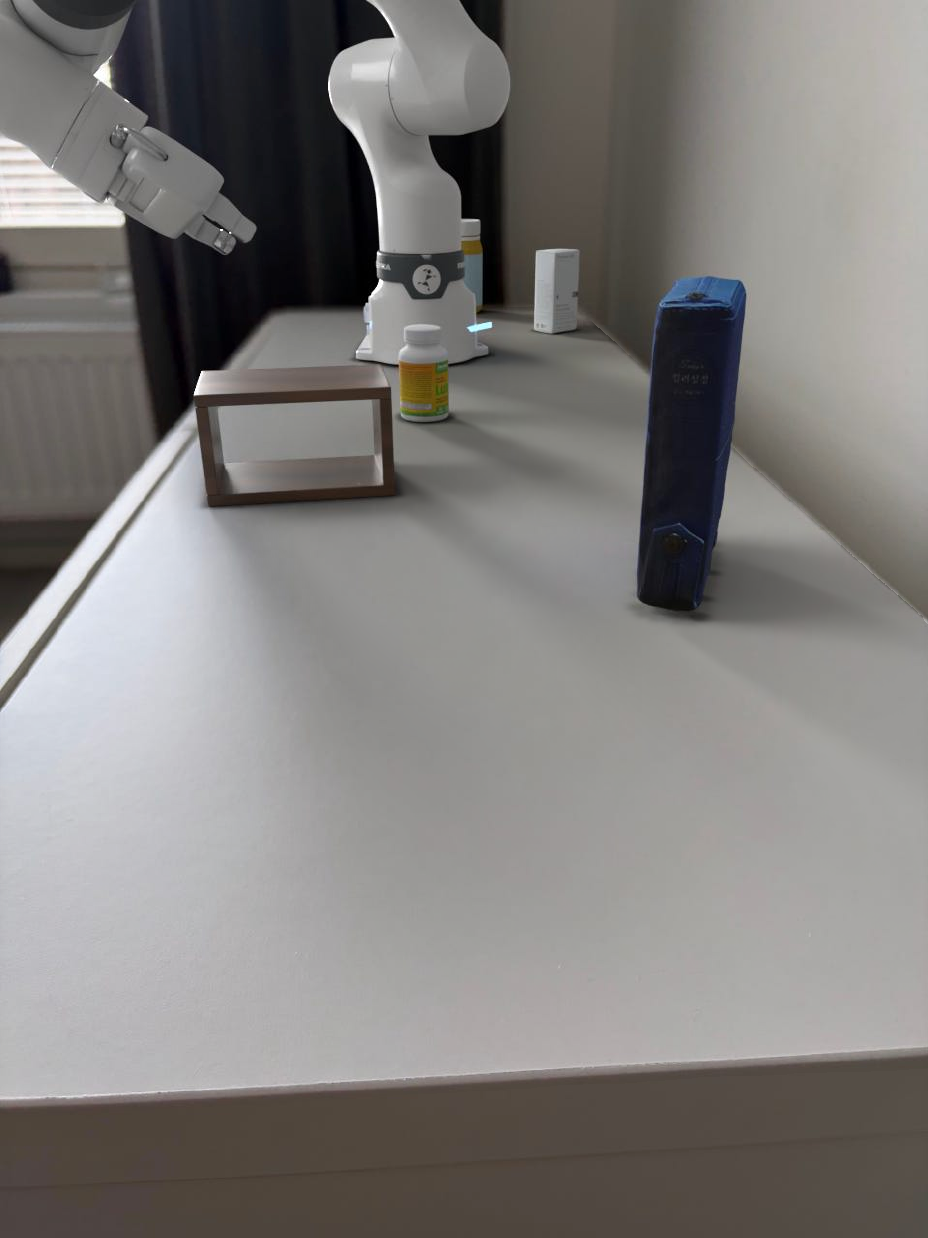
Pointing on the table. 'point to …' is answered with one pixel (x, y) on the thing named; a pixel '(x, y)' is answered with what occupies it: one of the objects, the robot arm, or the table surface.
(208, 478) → the shelf
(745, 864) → the table surface
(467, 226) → the bottle
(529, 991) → the table surface
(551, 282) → the cosmetic box
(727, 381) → the book
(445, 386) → the supplement bottle
